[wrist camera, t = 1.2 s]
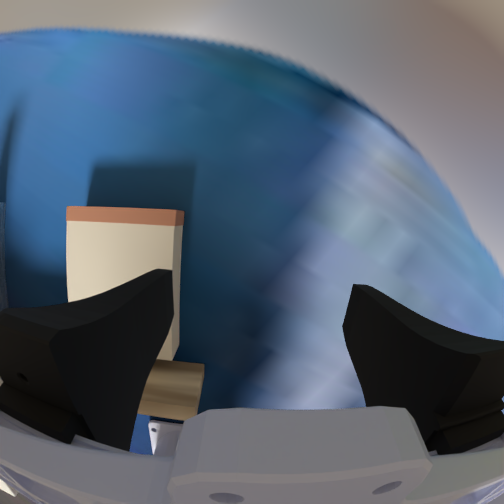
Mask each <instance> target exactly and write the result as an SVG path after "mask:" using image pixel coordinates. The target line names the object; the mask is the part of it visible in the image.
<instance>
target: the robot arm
mask: <svg viewBox="0 0 504 504" xmlns="http://www.w3.org/2000/svg"><path fill="white" fill-rule="evenodd" d="M173 317H174V300H173V277H172V270H168V269H154V270H152V271H149V272H147V273H145V274H143V275H141V276H139V277H136V278H134V279H132V280H130V281H128V282H126V283H124V284H122V285H119V286H117V287H115V288H112V289H110V290H108V291H105V292H103V293H100V294H97V295H94V296H91V297H88V298H84V299H81V300H77V301H72V302H68V303H63V304H58V305H51V306H43V307H32V308H4V309H3V310H2V311H1V312H0V377H1V379H2V381H3V383H2V384H1V386H0V479H1V480H2V481H4V482H5V483H6V484H8V485H9V486H11V487H12V488H14V489H15V490H16V491H18V492H19V493H21V494H22V495H24V496H25V497H27V498H29V499H30V500H32V501H33V502H35V503H37V504H487V503H488V502H490V501H491V500H493V499H495V498H496V497H498V496H499V495H501V494H503V493H504V414H503V413H502V411H501V410H503V409H504V402H503V401H502V397H503V396H504V341H499V340H492V339H486V338H482V337H477V336H473V335H469V334H466V333H462V332H459V331H456V330H453V329H451V328H448V327H445V326H443V325H440V324H438V323H436V322H434V321H431V320H429V319H427V318H425V317H423V316H421V315H419V314H417V313H416V312H414V311H412V310H410V309H408V308H407V307H405V306H403V305H402V304H400V303H398V302H397V301H395V300H394V299H392V298H390V297H389V296H387V295H385V294H384V293H382V292H380V291H379V290H377V289H375V288H373V287H371V286H368V285H360V284H353V287H352V291H351V295H350V299H349V303H348V307H347V311H346V315H345V319H344V322H343V326H342V327H343V332H344V338H345V342H346V346H347V349H348V352H349V355H350V357H351V360H352V363H353V365H354V368H355V371H356V373H357V376H358V379H359V382H360V384H361V387H362V391H363V394H364V398H365V403H366V407H361V408H346V409H323V410H280V409H257V408H242V407H241V408H227V409H210V410H207V411H205V412H202V413H200V414H198V415H196V416H194V417H191V418H189V419H187V420H185V421H184V423H183V424H177V423H169V422H163V421H156V420H151V421H150V422H149V425H148V426H149V432H150V439H151V445H152V451H153V455H142V454H136V453H132V452H129V449H130V444H131V439H132V434H133V429H134V425H135V420H136V416H137V412H138V409H139V405H140V401H141V398H142V394H143V391H144V388H145V385H146V381H147V379H148V376H149V374H150V372H151V370H152V367H153V365H154V363H155V361H156V359H157V357H158V355H159V353H160V350H161V348H162V346H163V344H164V342H165V340H166V338H167V336H168V333H169V330H170V327H171V324H172V320H173ZM153 428H155V429H156V430H155V429H153Z"/></svg>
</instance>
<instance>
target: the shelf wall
mask: <svg viewBox="0 0 504 504" xmlns="http://www.w3.org/2000/svg"><path fill="white" fill-rule="evenodd" d="M203 380H204V364H199V363H189V362H180V361H170V360H162V359H156V361H155V363H154V365H153V367H152V370H151V372H150V374H149V376H148V379H147V381H146V385H145V388H144V391H143V394H142V398H141V401H140V405H139V409H138V412H137V413H139V414H144V415H150V416H156V417H163V418H169V419H177V420H187V419H189V418H191V417H194V416H196V415H197V411H198V406H199V401H200V395H201V390H202V385H203Z"/></svg>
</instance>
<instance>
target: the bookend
mask: <svg viewBox="0 0 504 504" xmlns="http://www.w3.org/2000/svg"><path fill="white" fill-rule="evenodd" d="M5 207H6V202H0V312H1V311H2V310H3V309H4V308H9V306H8V297H7V287H6V273H5V246H4V235H5Z"/></svg>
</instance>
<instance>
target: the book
mask: <svg viewBox="0 0 504 504" xmlns="http://www.w3.org/2000/svg"><path fill="white" fill-rule="evenodd" d="M66 221H67V241H66V261H67V289H68V302H72V301H77V300H81V299H84V298H88V297H91V296H94V295H97V294H100V293H103V292H105V291H108V290H110V289H112V288H115V287H117V286H119V285H122V284H124V283H126V282H128V281H130V280H132V279H134V278H136V277H139V276H141V275H143V274H145V273H147V272H149V271H152V270H154V269H168V270H172V277H173V300H174V317H173V320H172V324H171V327H170V330H169V333H168V336H167V338H166V340H165V342H164V344H163V346H162V348H161V350H160V353H159V355H158V357H157V359H162V360H170V361H172V360H173V357H174V355H175V353H176V351H177V348H178V346H179V303H180V270H181V248H182V231H183V225H184V211H180V210H169V209H148V208H123V207H87V206H67V215H66Z"/></svg>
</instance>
